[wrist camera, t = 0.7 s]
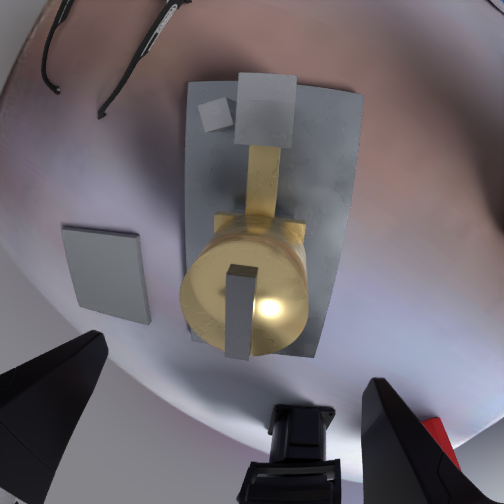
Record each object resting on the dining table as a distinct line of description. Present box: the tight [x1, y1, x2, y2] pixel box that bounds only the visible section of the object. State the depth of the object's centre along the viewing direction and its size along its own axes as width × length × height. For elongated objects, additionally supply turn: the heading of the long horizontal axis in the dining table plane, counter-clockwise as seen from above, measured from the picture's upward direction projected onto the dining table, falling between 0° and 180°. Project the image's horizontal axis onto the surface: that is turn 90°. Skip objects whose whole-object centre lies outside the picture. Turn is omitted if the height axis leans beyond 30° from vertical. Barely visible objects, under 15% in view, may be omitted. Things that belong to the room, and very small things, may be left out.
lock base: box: [185, 73, 364, 358], centre depth 16 cm, size 19×10×5 cm, turn 176°
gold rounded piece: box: [180, 145, 309, 361], centre depth 12 cm, size 10×5×6 cm, turn 176°
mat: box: [61, 227, 151, 325], centre depth 21 cm, size 8×8×1 cm
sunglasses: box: [41, 0, 192, 120], centre depth 12 cm, size 10×12×5 cm
